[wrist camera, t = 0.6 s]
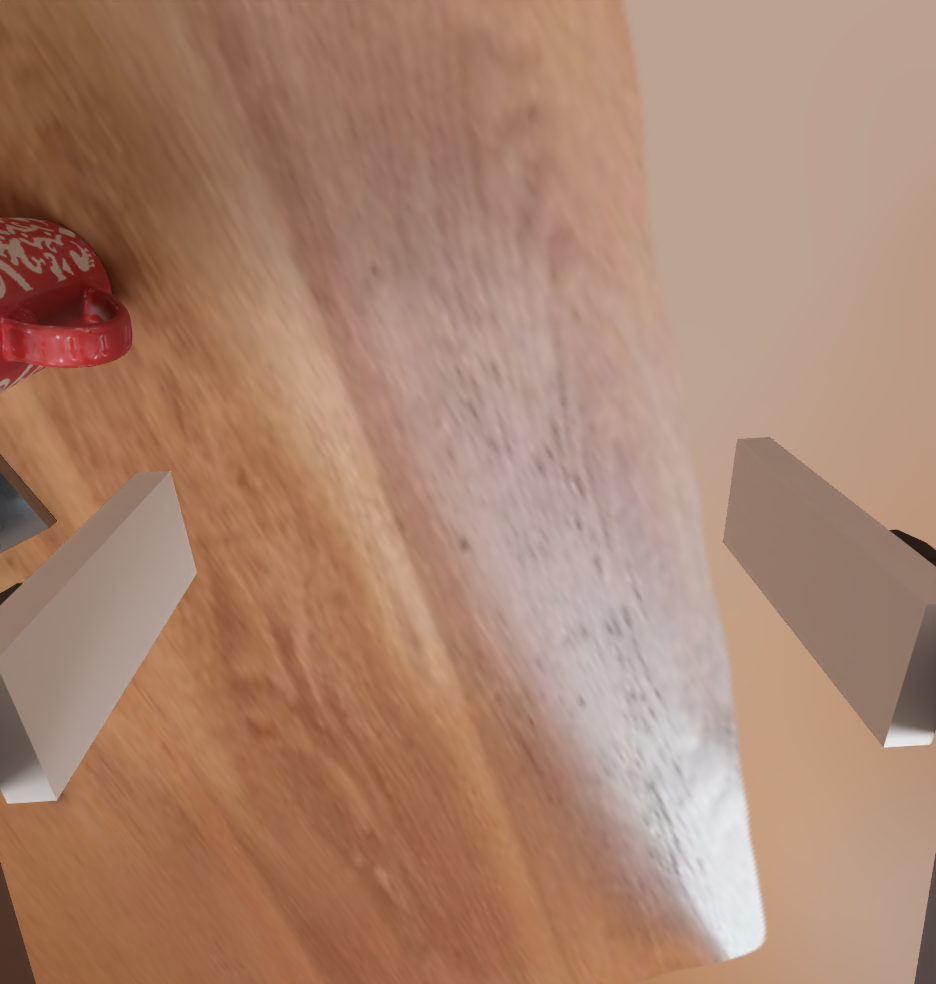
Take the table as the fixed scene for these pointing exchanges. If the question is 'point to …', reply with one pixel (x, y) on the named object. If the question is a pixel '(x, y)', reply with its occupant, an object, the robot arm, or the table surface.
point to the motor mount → (19, 510)
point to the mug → (54, 302)
